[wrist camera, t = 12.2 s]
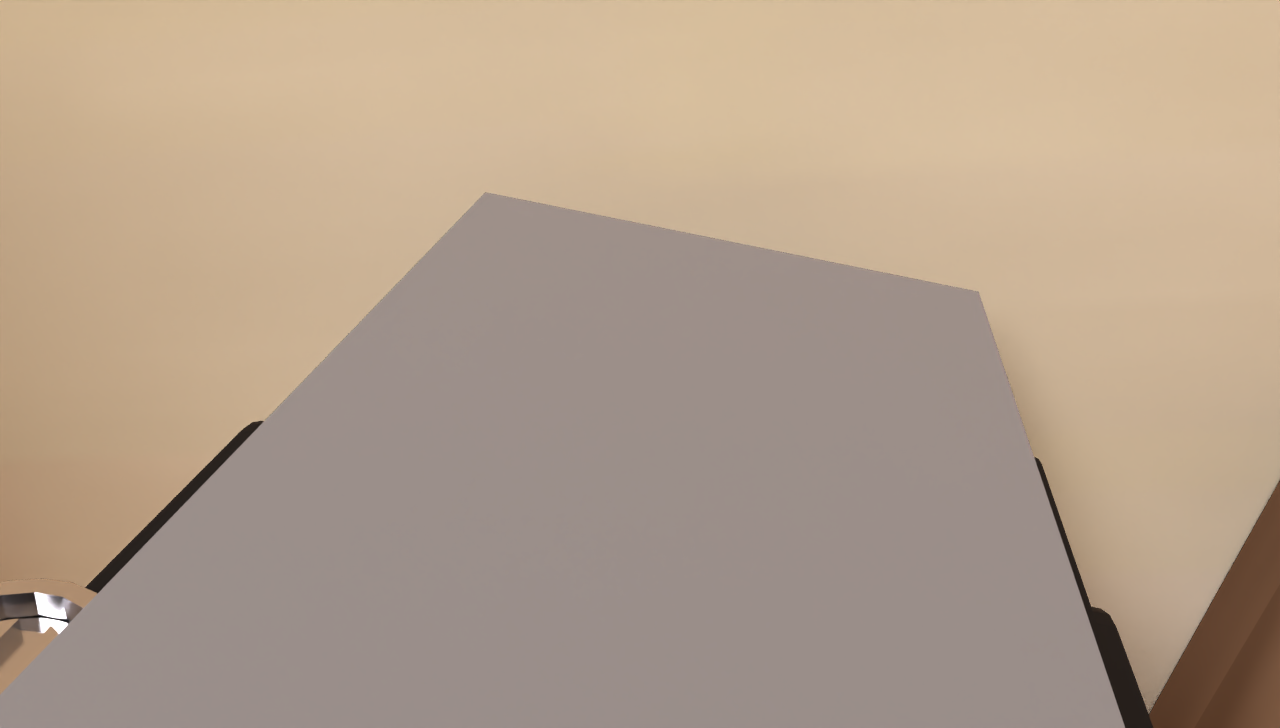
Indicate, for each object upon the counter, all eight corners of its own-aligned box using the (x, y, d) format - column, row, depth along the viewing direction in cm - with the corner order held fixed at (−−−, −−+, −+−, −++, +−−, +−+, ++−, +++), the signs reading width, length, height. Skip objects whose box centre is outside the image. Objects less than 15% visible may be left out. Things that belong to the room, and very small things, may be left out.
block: (457, 567, 12) (103, 1265, 6) (486, 192, 10) (-43, 737, 4) (851, 659, 12) (874, 1491, 6) (978, 292, 10) (1237, 1061, 4)
